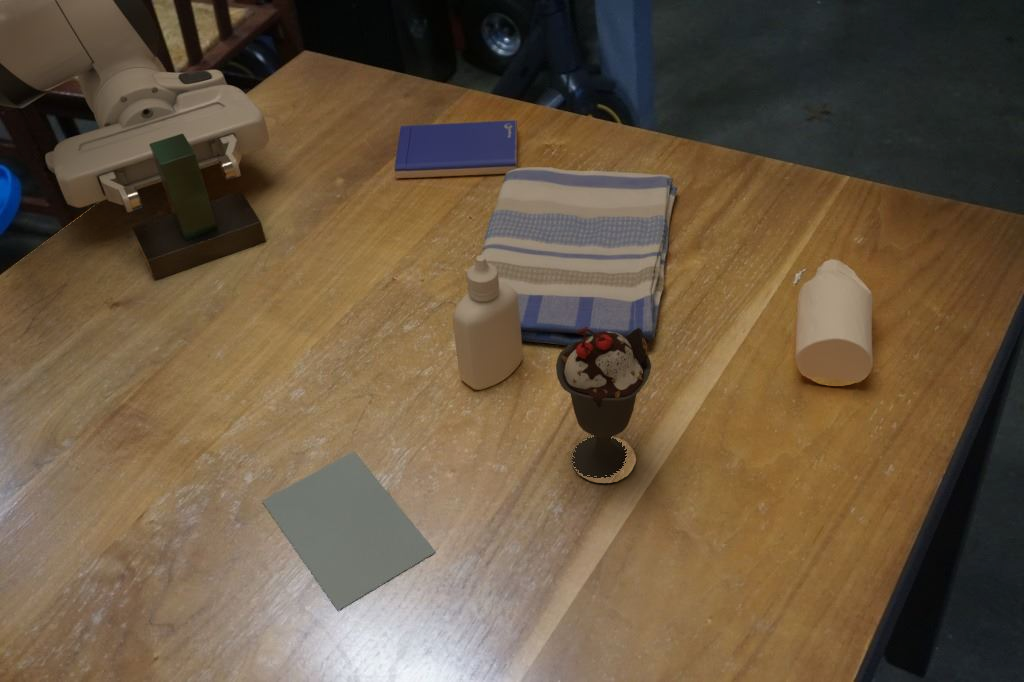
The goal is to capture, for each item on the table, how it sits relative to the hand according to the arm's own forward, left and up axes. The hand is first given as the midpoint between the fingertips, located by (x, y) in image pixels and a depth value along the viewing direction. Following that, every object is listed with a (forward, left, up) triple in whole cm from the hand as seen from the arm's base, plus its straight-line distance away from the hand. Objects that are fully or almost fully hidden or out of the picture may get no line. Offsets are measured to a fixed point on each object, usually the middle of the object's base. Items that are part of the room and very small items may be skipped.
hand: (183, 187), depth 102 cm
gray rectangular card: (+19, -34, -7) cm, 39 cm away
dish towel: (+36, -4, -7) cm, 37 cm away
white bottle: (+57, -15, -7) cm, 60 cm away
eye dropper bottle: (+29, -18, -7) cm, 35 cm away
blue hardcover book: (+24, +14, -7) cm, 29 cm away
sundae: (+38, -28, -7) cm, 48 cm away
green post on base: (0, 0, -7) cm, 7 cm away
